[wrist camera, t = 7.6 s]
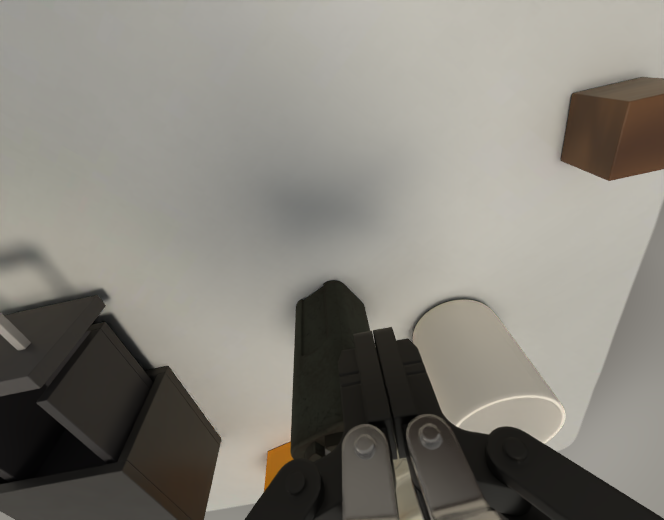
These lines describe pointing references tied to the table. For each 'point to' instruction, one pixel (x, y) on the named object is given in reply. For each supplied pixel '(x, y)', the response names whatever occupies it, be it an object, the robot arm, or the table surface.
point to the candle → (322, 367)
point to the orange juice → (277, 461)
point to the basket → (64, 390)
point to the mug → (484, 372)
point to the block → (617, 129)
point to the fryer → (133, 469)
